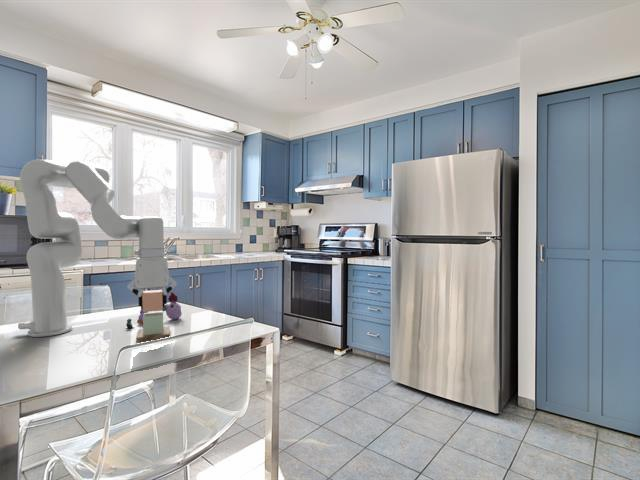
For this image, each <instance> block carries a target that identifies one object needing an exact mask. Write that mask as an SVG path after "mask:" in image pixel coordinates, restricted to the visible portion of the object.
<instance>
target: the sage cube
mask: <svg viewBox="0 0 640 480" xmlns="http://www.w3.org/2000/svg"><path fill="white" fill-rule="evenodd" d="M163 327H164V312H163V311H151V312H148V313H144V315H143V324H142V329H143V335H150V334H159V333H163Z"/></svg>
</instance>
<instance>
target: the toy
mask: <svg viewBox="0 0 640 480" xmlns="http://www.w3.org/2000/svg"><path fill="white" fill-rule="evenodd" d="M167 300H168V302H170V303H168V304H165V307H163V313H164V312H165V313H166V316H167V317H168V318H169V319H170V320H179V319H180V318H181V316H182V315H183V314H182V306H181V305H180V303H177V301H178V295H177V294H175V293H174V292H173V291H170V295H169V296H168V297H167ZM144 313H149V312H143V309H141V308H140V310H139V315H138V316H137V317H138V319H137V321H136V322H137V324H138V325H139V326H141V325H143V315H144Z"/></svg>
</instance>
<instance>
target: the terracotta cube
mask: <svg viewBox="0 0 640 480" xmlns="http://www.w3.org/2000/svg"><path fill="white" fill-rule="evenodd" d="M162 295H163V292H162V289H156V290H155V289H154V290H143V293H142V301H143V312H148V313H150V312H162V311H163V300H162Z"/></svg>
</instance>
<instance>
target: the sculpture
mask: <svg viewBox="0 0 640 480" xmlns="http://www.w3.org/2000/svg"><path fill="white" fill-rule="evenodd" d="M125 324H126V327H127V328H125V330H134V329H136V327H134V326H133V324H132V319H131V318H127V320H126V323H125Z"/></svg>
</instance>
